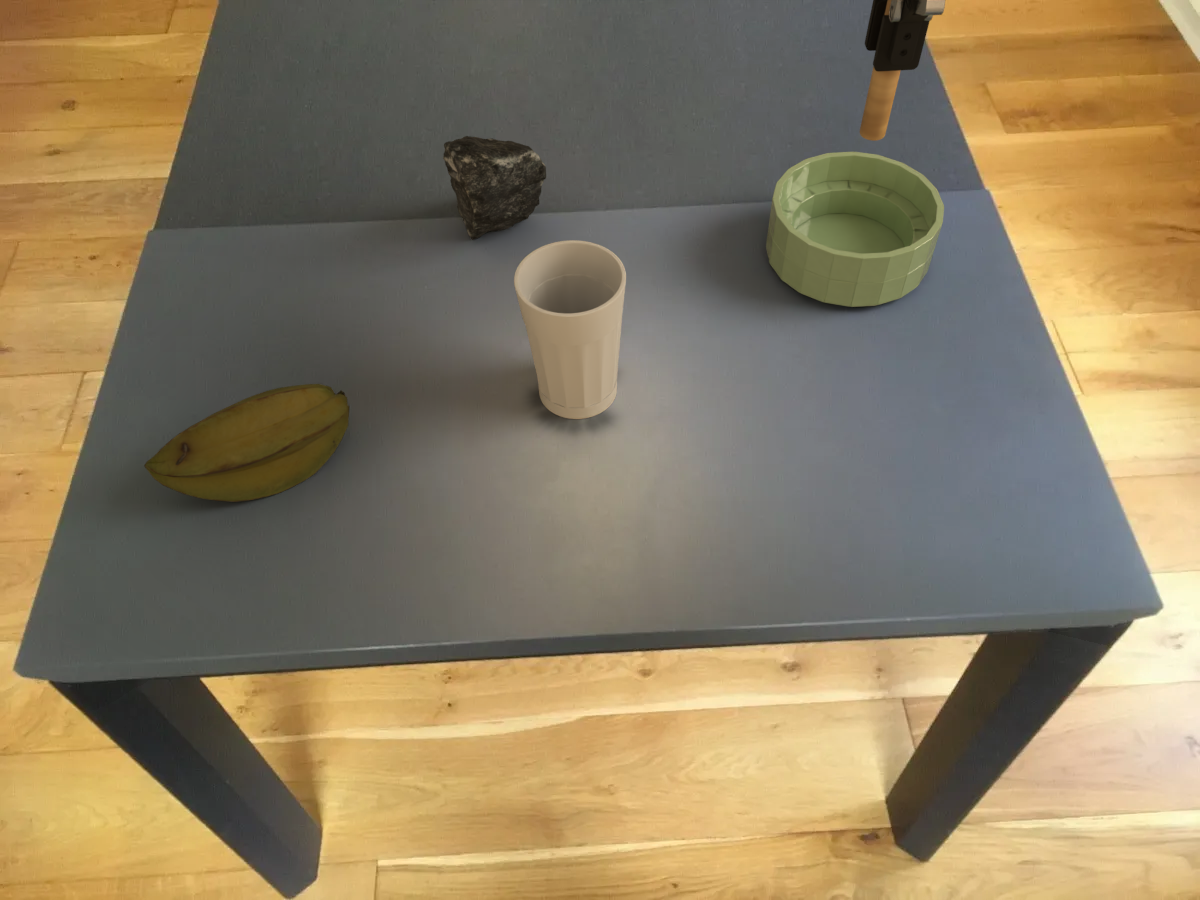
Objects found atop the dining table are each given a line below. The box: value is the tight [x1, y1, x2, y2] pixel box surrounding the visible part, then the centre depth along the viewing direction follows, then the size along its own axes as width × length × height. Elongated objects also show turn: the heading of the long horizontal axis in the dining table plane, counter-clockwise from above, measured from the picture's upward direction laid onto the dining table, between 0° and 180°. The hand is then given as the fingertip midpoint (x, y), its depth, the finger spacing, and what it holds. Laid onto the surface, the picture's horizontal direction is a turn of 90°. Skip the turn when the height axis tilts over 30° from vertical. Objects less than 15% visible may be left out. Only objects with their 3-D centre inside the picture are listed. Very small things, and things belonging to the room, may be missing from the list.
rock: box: [442, 135, 547, 241], centre depth 87 cm, size 8×7×10 cm
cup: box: [513, 239, 627, 420], centre depth 74 cm, size 8×8×12 cm
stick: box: [859, 0, 902, 142], centre depth 72 cm, size 2×2×12 cm
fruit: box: [143, 383, 350, 503], centre depth 72 cm, size 11×12×7 cm
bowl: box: [765, 151, 945, 308], centre depth 85 cm, size 14×14×6 cm
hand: (890, 56), depth 71 cm, fingers closed on stick, 2 cm apart
